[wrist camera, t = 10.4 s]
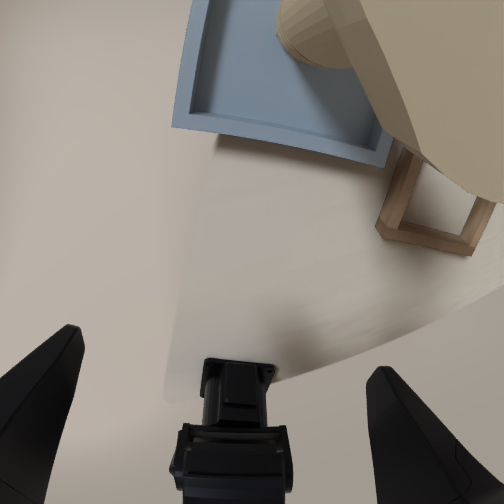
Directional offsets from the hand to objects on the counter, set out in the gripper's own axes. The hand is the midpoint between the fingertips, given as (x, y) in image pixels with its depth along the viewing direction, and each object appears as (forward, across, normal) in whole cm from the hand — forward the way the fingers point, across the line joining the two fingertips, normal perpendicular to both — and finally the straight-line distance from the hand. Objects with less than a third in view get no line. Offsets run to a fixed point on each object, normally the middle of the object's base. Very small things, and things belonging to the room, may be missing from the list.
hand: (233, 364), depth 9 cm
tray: (+13, -2, -10) cm, 16 cm away
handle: (+12, -2, -10) cm, 16 cm away
